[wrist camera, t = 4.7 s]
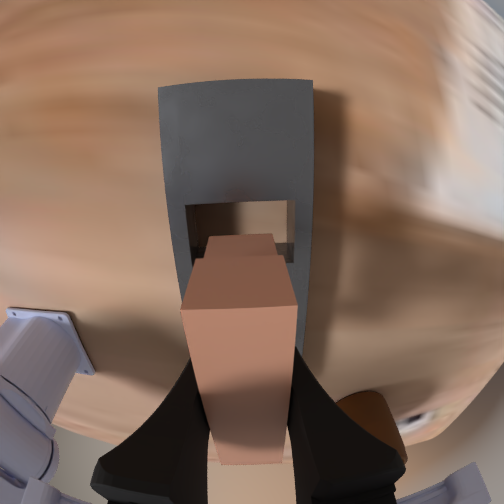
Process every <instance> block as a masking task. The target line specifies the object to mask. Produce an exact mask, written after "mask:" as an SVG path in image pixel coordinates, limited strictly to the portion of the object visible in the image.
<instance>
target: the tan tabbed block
mask: <svg viewBox="0 0 504 504" xmlns="http://www.w3.org/2000/svg"><path fill="white" fill-rule="evenodd" d="M297 309H298V304H297V301H296V297H295V294H294V290H293V287H292V284H291V280H290V277H289V273H288V270H287V267H286V263H285V260H284V256H283V255H278V254H277V250H276V246H275V243H274V239H273V235H272V234H248V235H226V236H209V240H208V243H207V247H206V251H205V254H204V258H200V259H196V260H195V263H194V266H193V269H192V273H191V276H190V279H189V282H188V285H187V289H186V292H185V295H184V299H183V302H182V305H181V309H180V311H181V316H182V321H183V326H184V330H185V335H186V339H187V344H188V348H189V352H190V357H191V361H192V365H193V369H194V373H195V377H196V381H197V385H198V388H199V392H200V396H201V400H202V403H203V407H204V410H205V414H206V417H207V421H208V424H209V427H210V431H211V434H212V437H213V440H214V444H215V447H216V450H217V453H218V456H219V459H220V462H221V465H254V464H272V463H282V459H283V452H284V444H285V436H286V428H287V420H288V411H289V402H290V393H291V383H292V372H293V362H294V350H295V337H296V324H297Z"/></svg>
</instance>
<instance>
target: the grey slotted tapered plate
mask: <svg viewBox="0 0 504 504" xmlns="http://www.w3.org/2000/svg"><path fill="white" fill-rule="evenodd" d="M158 103H159V122H160V137H161V150H162V162H163V173H164V182H165V192H166V200H167V209H168V217H169V224H170V231H171V239H172V245H173V252H174V258H175V265H176V271H177V277H178V282H179V288H180V294H181V299H182V302H183V299H184V295H185V292H186V289H187V285H188V282H189V279H190V276H191V273H192V269H193V266H194V263H195V260H196V259H200V258H204V254H205V251H206V247H199V244H198V235H197V225H196V216H195V205H194V204H208V203H226V202H248V201H276V200H287V243H277V244H275V246H276V250H277V254H278V255H283V256H284V260H285V263H286V267H287V270H288V273H289V277H290V280H291V284H292V287H293V290H294V294H295V297H296V301H297V304H298V309H297V324H296V337H295V346H296V347H297V349H298V351H299V353H300V355H301V356H302V353H303V344H304V334H305V324H306V313H307V301H308V288H309V274H310V259H311V241H312V219H313V186H314V105H313V80H302V79H235V80H219V81H206V82H196V83H187V84H179V85H172V86H165V87H158Z"/></svg>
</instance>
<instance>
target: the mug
mask: <svg viewBox="0 0 504 504" xmlns="http://www.w3.org/2000/svg"><path fill="white" fill-rule="evenodd" d="M336 404H337V405H338V406H339V407H340V408H341V409H342V410H343V411H344V412H345V413H346V414H347V415H348V416H349V417H350V418H351V419H352V420H354V421H355V422H356V423H357V424H359V425H360V426H361V427H362V428H364V429H365V430H366V431H367V432H369V433H370V434H372V435H373V436H375V437H376V438H378V439H379V440H381V441H382V442H384V443H386V444H387V445H389V446H391V447H393V448H394V449H396V450H397V451H398V453H399V455H400V456H401V458H402V460H403V462H404V465H405V463H406V462H407V459H408V458H407V454H406V451H405V447H404V444H403V441H402V438H401V436H400V433H399V431H398V428H397V426H396V423H395V421H394V419H393V416H392V414H391V412H390V409H389V407H388V405H387V402H386V400H385V399H384V397H383V396H382V395H381V394H379V393H376V392H360V393H356V394H353V395H350V396H348V397H345V398H343V399H342V400H340V401H338V402H337V403H336Z"/></svg>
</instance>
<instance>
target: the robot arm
mask: <svg viewBox="0 0 504 504" xmlns="http://www.w3.org/2000/svg"><path fill="white" fill-rule="evenodd" d="M6 313H7V315H8V317H9V318H8V319H7V320H6V321H5V322H4V323H3V324H2V326H1V327H0V467H1V468H3V469H4V470H2V469H1V468H0V504H91V503H88V502H85V501H82V500H80V499H76V498H74V497H71V496H69V495H66V494H63V493H61V492H60V491H59V490H58V489H56V488H55V487H53V486H51V485H49V484H48V483H49V482H50V481H51V479H52V478H53V477H54V475H55V473H56V471H57V468H58V464H59V448H58V444H57V442H56V441H55V439H54V438H53V437H54V434H55V432H56V429H55V428H54V427H53V426H52V425H51V423H52V420H53V418H54V416H55V414H56V412H57V409H58V407H59V405H60V403H61V401H62V399H63V397H64V395H65V393H66V390H67V388H68V386H69V384H70V382H71V380H72V378H73V376H74V374H75V373H80V374H86V375H94V374H95V370H94V368H93V366H92V364H91V362H90V360H89V358H88V356H87V354H86V352H85V350H84V348H83V346H82V343H81V341H80V339H79V337H78V335H77V332H76V330H75V328H74V326H73V323H72V321H71V318H70V316H69V315H68V314H67V313H65V312H53V311H40V310H29V309H19V308H9V307H8V308H7V309H6ZM61 317H62V318H61ZM287 427H288V431H289V436H290V441H291V447H292V457H293V467H294V476H295V489H296V504H488V503H490V502H491V498H490V495H489V493H488V490H487V488H486V485H485V483H484V481H483V478H482V476H481V474H480V471H479V469H478V467H477V465H476V462H472V463H470V464H469V465H467V466H465V467H463V468H461V469H459V470H457V471H455V472H454V473H452V474H451V475H449V476H448V477H447V478H446V479H445V480H444V481H442V482H439V483H437V484H435V485H433V486H431V487H428V488H426V489H424V490H421V491H419V492H416V493H414V494H411V495H409V496H406V497H403V498H400V499H398V500H396V499H395V495H394V492H395V491H396V488H395V485H394V483H395V482H396V481H397V480H398V479H399V478H400V477H402V475H403V474H404V473H405V471H406V468H405V465H404V462H403V460H402V458H401V456H400V455H399V453H398V451H397V450H396V449H394V448H393V447H391V446H389V445H387V444H386V443H384V442H382V441H381V440H379V439H378V438H376V437H375V436H373V435H372V434H370V433H369V432H367V431H366V430H365V429H364V428H362V427H361V426H360V425H359V424H357V423H356V422H355V421H354V420H352V419H351V418H350V417H349V416H348V415H347V414H346V413H345V412H344V411H343V410H342V409H341V408H340V407H339V406H338V405H337V404H336V403H335V402H334V401H333V400H332V399H331V397H330V396H329V395H328V394H327V393H326V391H325V390H324V389H323V388H322V386H321V385H320V384H319V383H318V381H317V380H316V378H315V377H314V375H313V374H312V373H311V371H310V370H309V368H308V366H307V365H306V363H305V362H304V360H303V358H302V356H301V355H300V353H299V351H298V349H297V347H296V346H295V350H294V362H293V372H292V383H291V393H290V402H289V411H288V420H287ZM209 433H210V427H209V424H208V421H207V417H206V414H205V410H204V407H203V403H202V400H201V396H200V392H199V388H198V385H197V381H196V377H195V373H194V369H193V365H192V361H191V357H190V359H189V361H188V363H187V365H186V367H185V368H184V370H183V372H182V374H181V375H180V377H179V378H178V380H177V382H176V383H175V385H174V386H173V388H172V389H171V391H170V392H169V394H168V395H167V396H166V398H165V399H164V401H163V402H162V403H161V404H160V406H159V407H158V408H157V409H156V411H155V412H154V413H153V414H152V415H151V416H150V417H149V418H148V419H147V420H146V421H145V422H144V423H143V425H142V426H141V427H139V428H138V429H137V430H136V431H135V432H134V433H133V434H132V435H130V436H129V437H128V438H127V439H126V440H124V441H123V442H122V443H121V444H119V445H118V446H117V447H115V448H114V449H113V450H111V451H109V452H108V453H106V454H105V455H103V456H102V457H100V458H99V459H98V462H97V464H96V466H95V469H94V472H93V476H92V479H91V483H90V485H91V487H92V489H93V490H94V491H96V492H97V493H98V494H100V495H101V496H103V497H104V498H106V499H107V500H108V504H208V496H207V455H208V440H209Z"/></svg>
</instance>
